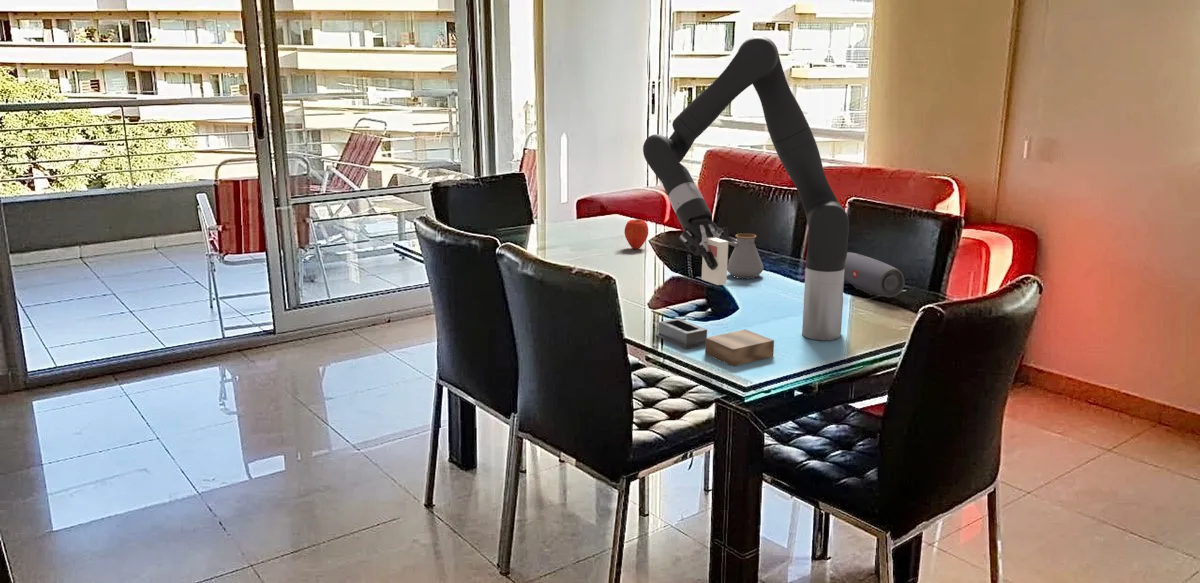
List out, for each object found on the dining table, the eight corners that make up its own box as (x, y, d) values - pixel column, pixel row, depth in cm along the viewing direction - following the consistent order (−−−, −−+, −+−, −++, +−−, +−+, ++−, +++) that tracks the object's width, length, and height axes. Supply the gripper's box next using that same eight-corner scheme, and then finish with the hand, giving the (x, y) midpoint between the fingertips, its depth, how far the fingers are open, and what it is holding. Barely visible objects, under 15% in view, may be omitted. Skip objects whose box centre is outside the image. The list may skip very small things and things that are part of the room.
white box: (710, 278, 218) (711, 236, 216) (726, 283, 213) (728, 241, 211) (701, 279, 217) (703, 237, 214) (717, 285, 212) (719, 242, 209)
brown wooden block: (744, 345, 222) (745, 329, 221) (773, 356, 213) (774, 340, 212) (705, 354, 216) (705, 337, 215) (732, 366, 207) (733, 349, 206)
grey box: (679, 331, 233) (679, 317, 232) (709, 344, 223) (710, 329, 222) (655, 335, 229) (655, 321, 228) (685, 349, 219) (685, 334, 218)
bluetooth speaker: (831, 284, 278) (833, 251, 275) (858, 281, 280) (860, 249, 278) (876, 303, 257) (878, 268, 254) (905, 300, 260) (907, 265, 257)
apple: (637, 252, 320) (637, 222, 318) (619, 249, 326) (619, 219, 323) (653, 248, 327) (653, 218, 324) (634, 245, 332) (635, 215, 329)
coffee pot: (752, 270, 295) (754, 224, 291) (769, 278, 284) (771, 230, 280) (690, 275, 288) (691, 228, 284) (705, 284, 278) (707, 235, 274)
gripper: (673, 199, 213) (704, 261, 206) (720, 194, 220) (751, 254, 213) (658, 218, 218) (688, 279, 212) (705, 213, 226) (735, 272, 219)
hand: (720, 266), depth 212 cm, fingers closed on white box, 2 cm apart
